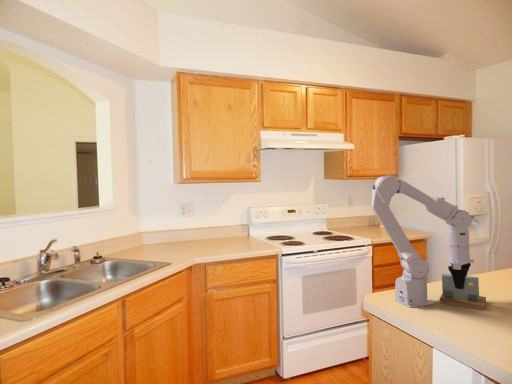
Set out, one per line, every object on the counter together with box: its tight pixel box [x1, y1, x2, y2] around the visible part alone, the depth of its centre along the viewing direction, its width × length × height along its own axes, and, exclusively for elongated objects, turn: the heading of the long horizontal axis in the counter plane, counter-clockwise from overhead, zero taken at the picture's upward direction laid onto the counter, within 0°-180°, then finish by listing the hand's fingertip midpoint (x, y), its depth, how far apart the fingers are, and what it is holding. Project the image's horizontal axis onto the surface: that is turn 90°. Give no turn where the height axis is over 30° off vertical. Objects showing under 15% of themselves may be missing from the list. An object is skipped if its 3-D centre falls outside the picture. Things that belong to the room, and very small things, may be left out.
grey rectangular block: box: [441, 273, 480, 301], centre depth 104 cm, size 3×10×7 cm, turn 52°
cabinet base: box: [439, 292, 487, 311], centre depth 104 cm, size 9×12×2 cm
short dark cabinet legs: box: [442, 291, 477, 302], centre depth 104 cm, size 5×9×2 cm, turn 52°
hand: (460, 286), depth 104 cm, fingers open, 5 cm apart
